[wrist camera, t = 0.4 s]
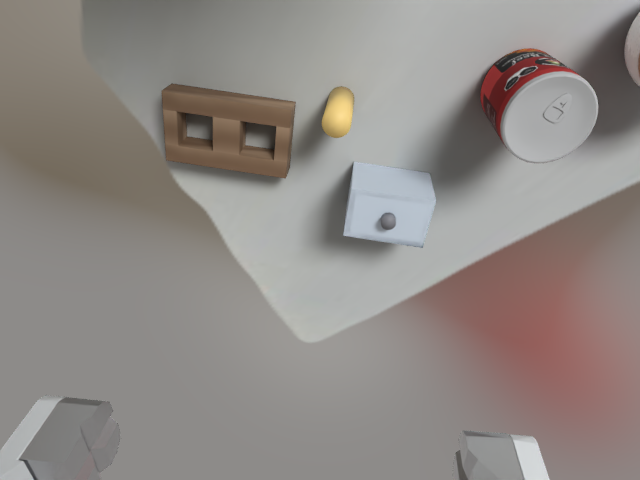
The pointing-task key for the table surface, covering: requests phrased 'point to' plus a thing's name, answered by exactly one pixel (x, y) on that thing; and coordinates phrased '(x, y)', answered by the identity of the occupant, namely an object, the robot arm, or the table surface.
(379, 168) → the cover
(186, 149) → the socket board
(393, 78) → the table surface
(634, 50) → the lidded jar
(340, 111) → the peg
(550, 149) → the canned food
